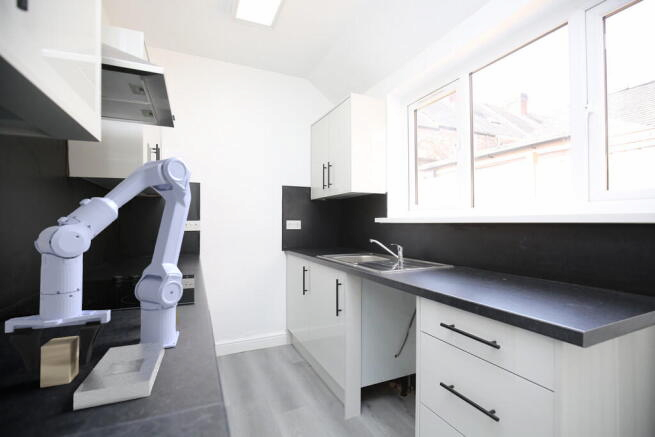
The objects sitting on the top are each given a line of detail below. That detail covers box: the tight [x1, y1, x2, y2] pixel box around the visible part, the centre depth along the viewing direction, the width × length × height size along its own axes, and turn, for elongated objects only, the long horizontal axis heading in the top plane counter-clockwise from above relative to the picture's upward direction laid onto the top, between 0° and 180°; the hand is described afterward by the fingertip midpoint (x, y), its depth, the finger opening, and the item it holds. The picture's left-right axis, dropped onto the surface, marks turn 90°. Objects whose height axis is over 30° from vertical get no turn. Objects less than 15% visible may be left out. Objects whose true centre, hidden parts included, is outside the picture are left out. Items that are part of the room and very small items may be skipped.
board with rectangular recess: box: [73, 341, 166, 411], centre depth 55 cm, size 18×10×2 cm, turn 22°
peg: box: [39, 335, 80, 388], centre depth 54 cm, size 4×4×7 cm
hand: (60, 366), depth 54 cm, fingers open, 7 cm apart
